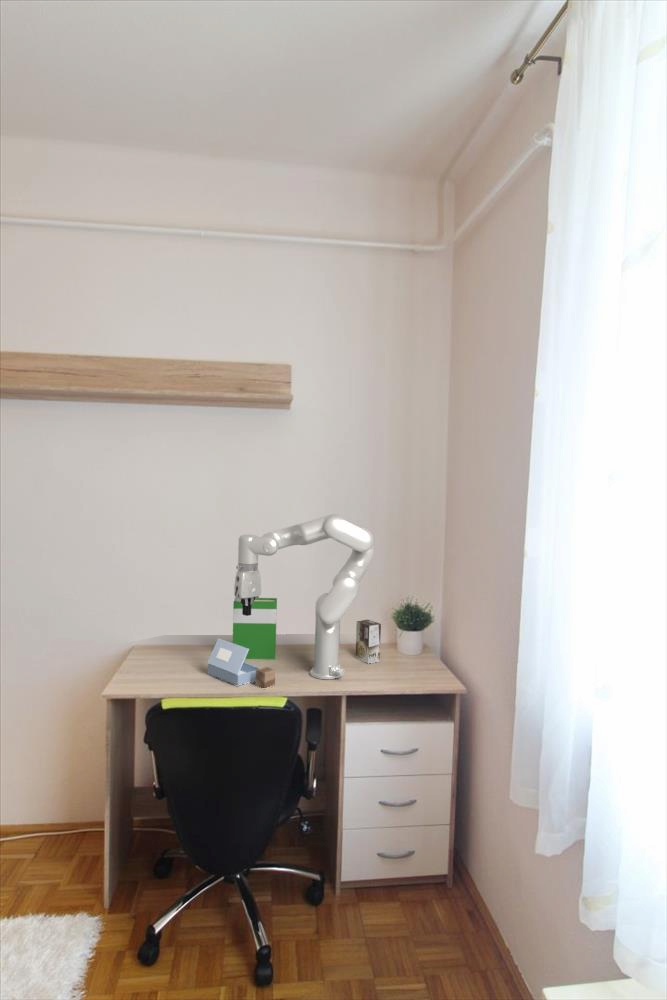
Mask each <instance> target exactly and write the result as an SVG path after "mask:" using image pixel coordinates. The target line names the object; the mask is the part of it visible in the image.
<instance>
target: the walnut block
mask: <svg viewBox="0 0 667 1000" xmlns="http://www.w3.org/2000/svg"><path fill="white" fill-rule="evenodd" d="M260 668H261V669H257V670H256V681H255V687H257V686H259V687H258V688H260V687H261V688H260V689H262V688H267V687H270V686H273V685H275V686H276V669H273V668H270V667H267V666H265V667H260Z"/></svg>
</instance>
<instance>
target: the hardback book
mask: <svg viewBox="0 0 667 1000" xmlns="http://www.w3.org/2000/svg"><path fill="white" fill-rule="evenodd" d="M277 606H278V598H277V597H276V598H275V597H259V598H257V599H255V600H254V601H253V604H252V605H251V615H249V616H246V615H243V614H242V607H243V605H242V604H241V602H238V601H235V600H233V610H232V611H233V612H232V613H233V615H232V643H233V644H236V645H239V646H242V647H245V648H248V649H249V651H248V653H247V655H246V658H245V660H276V653H277V651H276V650H277V649H276V648H277V647H276V646H277V615H278V613H277V610H278V608H277Z"/></svg>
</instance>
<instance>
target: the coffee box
mask: <svg viewBox="0 0 667 1000" xmlns="http://www.w3.org/2000/svg"><path fill="white" fill-rule="evenodd" d="M381 630H382V624H381V623H379V622H377V621H373V620H372V619H371V620H370V619H363V620H358V621H356V634H355V635H356V637H355V659H356V658H357V659H356V660H358V659H359V660H358V661H360V660H361V662H363V661H364V662H363V663H365V662H366V663H365V664H367V663H368V664H367V665H370V664H369V663H371V664H376V663H375V662H377V663H380V660H381V658H380V657H381V655H380V654H381V634H382V633H381Z"/></svg>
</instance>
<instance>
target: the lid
mask: <svg viewBox="0 0 667 1000" xmlns="http://www.w3.org/2000/svg"><path fill="white" fill-rule="evenodd" d="M248 651H249V649H248V648H245V647H242V646H239V645H236V644H233V642H231V641H230V642H229V641H228V640H224V639H222V638H217V640H216V643H215V645H214V647H213V649H212V651H211V654H210V656H209V658H208V660H207V664H211V665H214V666H216V667H219V668H221V669H224V670H226V671H229V672H231V673H234V674H236V675H238V674H239V671H240V669H241V667H242V665H243V662H245V660H246V659H245V658H246V655H247V653H248Z"/></svg>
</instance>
